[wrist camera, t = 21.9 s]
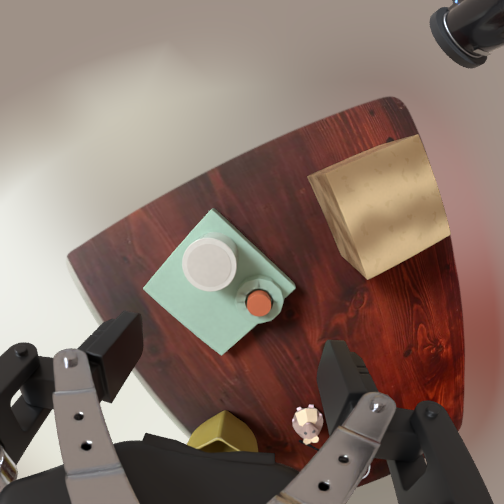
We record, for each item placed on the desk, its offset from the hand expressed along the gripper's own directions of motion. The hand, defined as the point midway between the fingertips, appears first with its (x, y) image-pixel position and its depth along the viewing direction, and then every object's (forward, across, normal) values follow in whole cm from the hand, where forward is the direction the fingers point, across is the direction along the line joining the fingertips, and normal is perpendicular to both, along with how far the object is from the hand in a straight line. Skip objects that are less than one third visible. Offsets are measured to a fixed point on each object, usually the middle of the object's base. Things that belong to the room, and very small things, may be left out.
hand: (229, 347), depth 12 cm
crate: (+25, -13, -6) cm, 29 cm away
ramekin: (+23, +4, +3) cm, 24 cm away
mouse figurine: (+25, -14, +30) cm, 42 cm away
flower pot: (+25, 0, +32) cm, 41 cm away
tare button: (+22, -2, +7) cm, 23 cm away
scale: (+25, +4, +7) cm, 26 cm away
